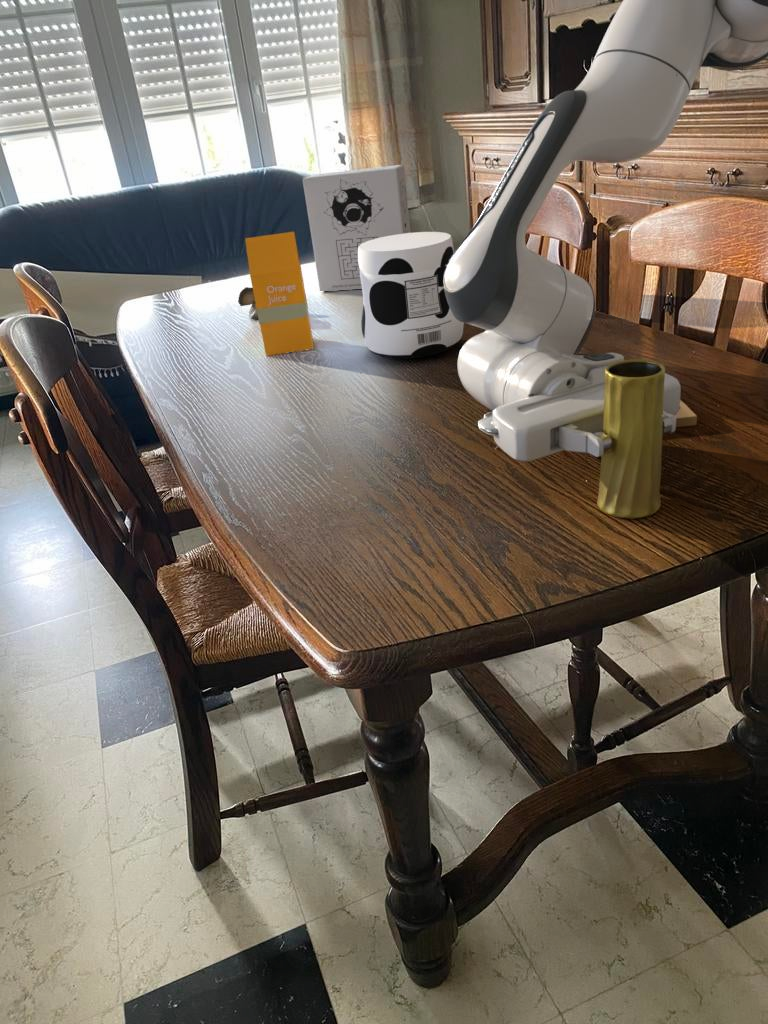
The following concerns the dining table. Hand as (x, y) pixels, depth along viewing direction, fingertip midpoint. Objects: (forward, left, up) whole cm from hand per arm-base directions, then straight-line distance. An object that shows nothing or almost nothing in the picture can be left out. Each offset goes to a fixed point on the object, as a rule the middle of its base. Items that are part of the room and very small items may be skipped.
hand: (638, 437), depth 71 cm
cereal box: (+28, -116, -8) cm, 119 cm away
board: (-4, -27, -8) cm, 28 cm away
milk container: (+19, -61, -8) cm, 64 cm away
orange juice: (+42, -72, -8) cm, 84 cm away
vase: (0, -1, -8) cm, 8 cm away
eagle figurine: (+52, -100, -8) cm, 113 cm away
